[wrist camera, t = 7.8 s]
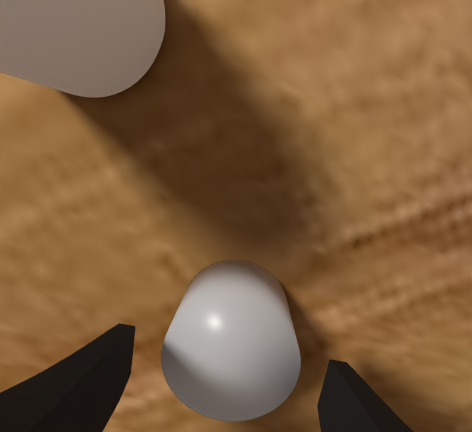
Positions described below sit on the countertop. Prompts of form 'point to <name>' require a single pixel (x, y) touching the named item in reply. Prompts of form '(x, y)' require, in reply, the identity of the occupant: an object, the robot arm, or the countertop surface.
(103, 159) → the countertop surface
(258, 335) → the grey rounded dome
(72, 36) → the can
